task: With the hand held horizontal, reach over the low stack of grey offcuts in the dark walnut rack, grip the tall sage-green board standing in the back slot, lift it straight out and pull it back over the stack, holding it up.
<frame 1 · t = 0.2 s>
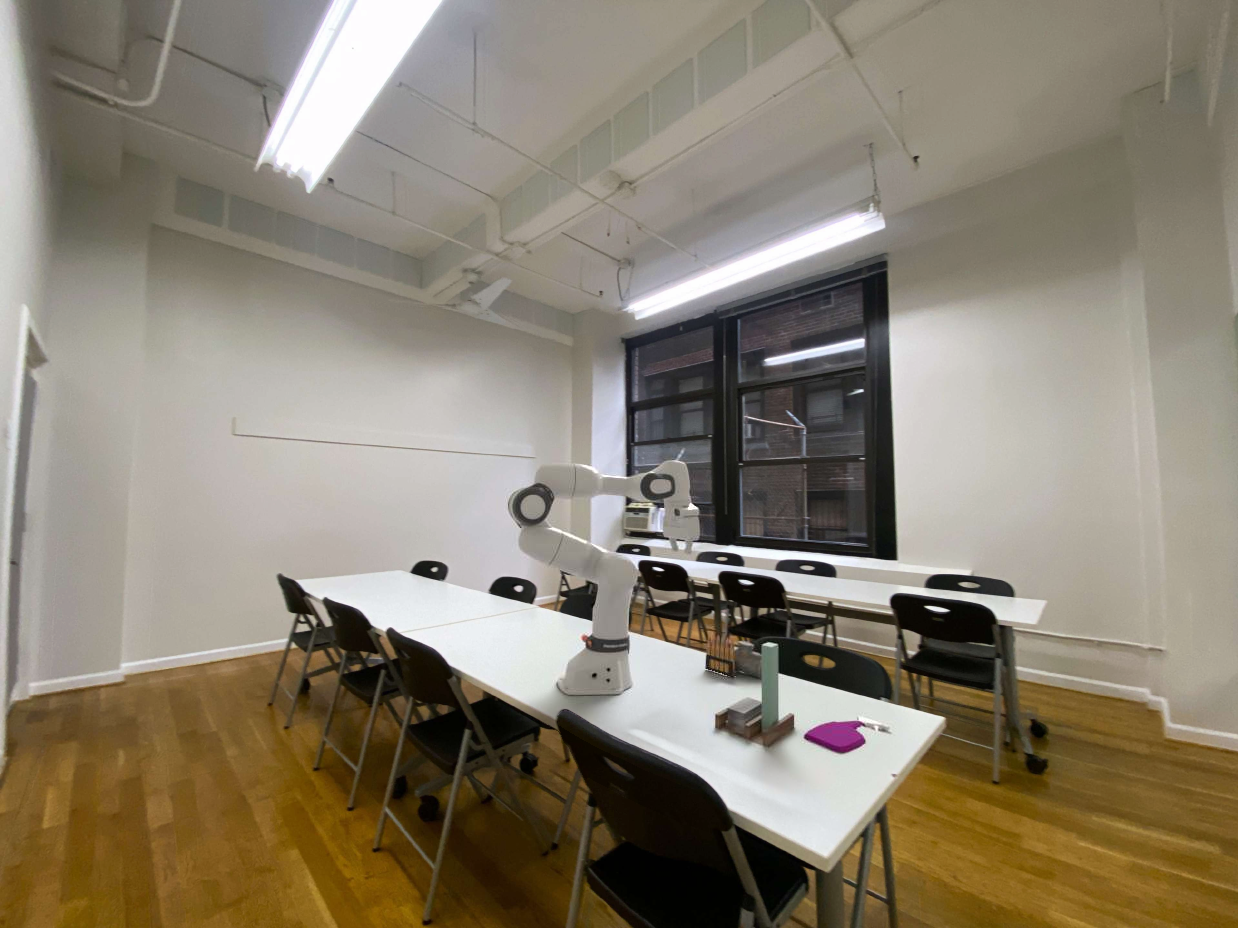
hand: (681, 552, 157), 39 cm above the table, fingers open, 8 cm apart
tall board: (770, 732, 114), point 1 cm above the table, touching rack
ammunition clip: (720, 674, 159), on the table
spray bottle: (848, 740, 115), on the table
rack: (752, 732, 117), on the table
pipe fitting: (746, 675, 158), on the table
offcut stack: (746, 724, 118), point 1 cm above the table, touching rack
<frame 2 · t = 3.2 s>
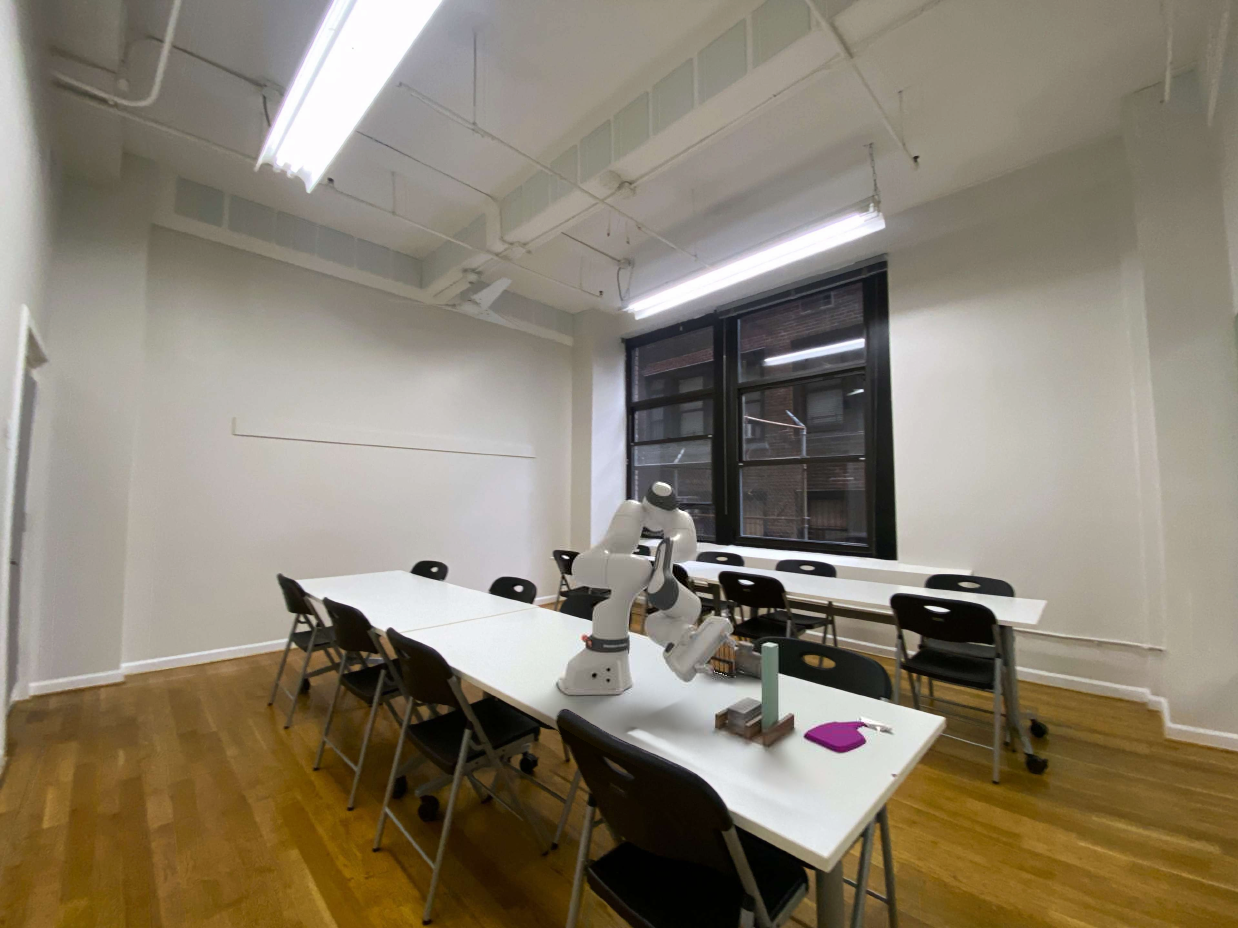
hand: (723, 656, 123), 16 cm above the table, fingers open, 8 cm apart
nothing on the table moved.
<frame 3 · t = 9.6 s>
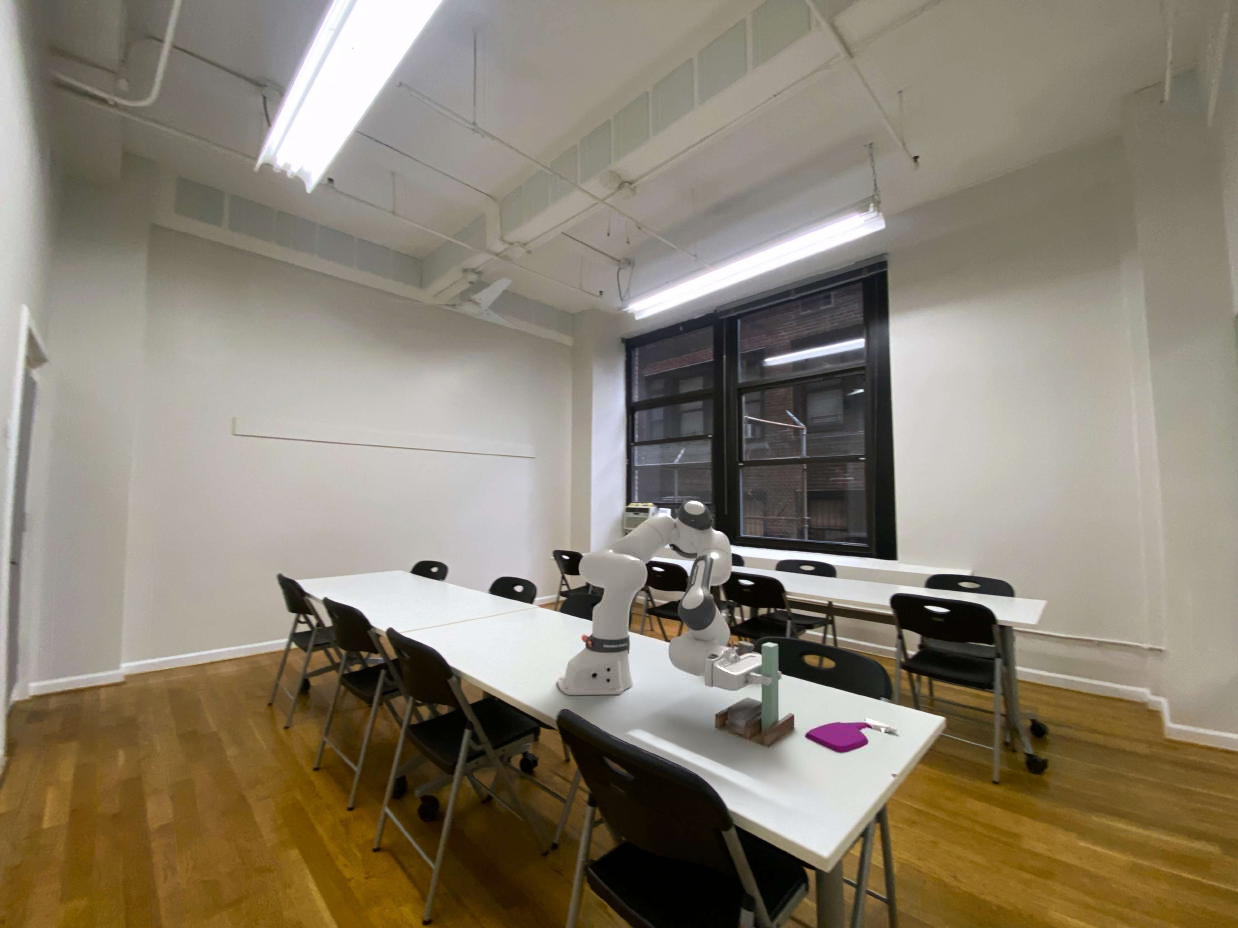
hand: (775, 678, 114), 14 cm above the table, fingers closed on tall board, 3 cm apart
tall board: (770, 732, 114), point 2 cm above the table, touching gripper, rack
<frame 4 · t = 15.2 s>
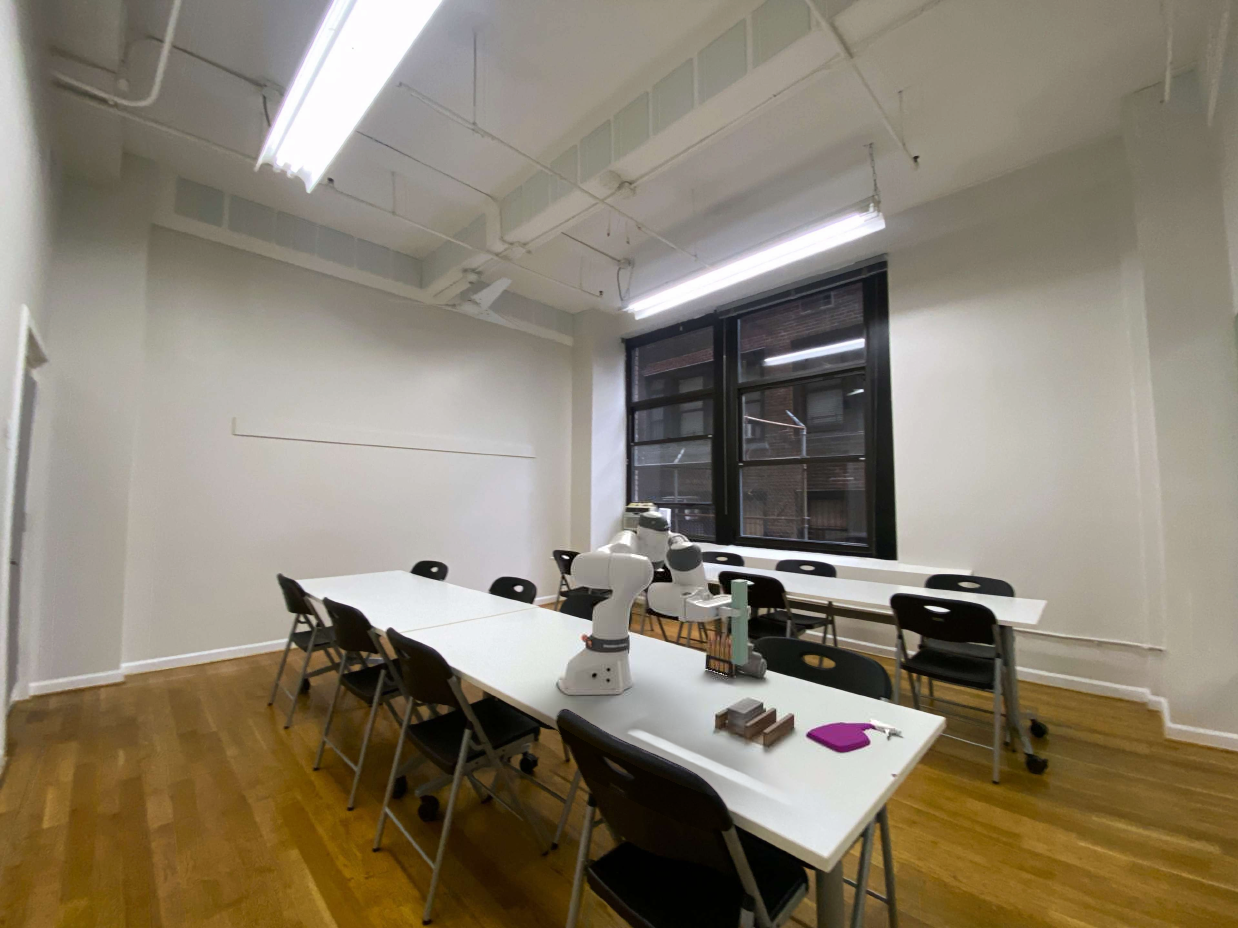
hand: (744, 611, 121), 28 cm above the table, fingers closed on tall board, 3 cm apart
tall board: (739, 662, 120), point 16 cm above the table, touching gripper
at the end: the gripper is holding tall board; tall board point 15.5 cm above the table; tall board touching gripper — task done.
